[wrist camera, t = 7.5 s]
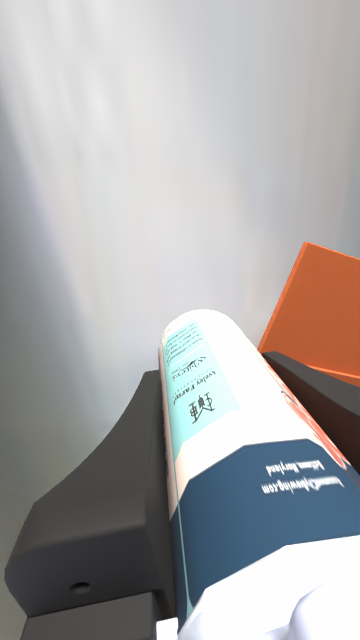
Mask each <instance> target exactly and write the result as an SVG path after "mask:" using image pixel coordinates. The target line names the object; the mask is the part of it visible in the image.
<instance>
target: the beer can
mask: <svg viewBox="0 0 360 640" xmlns="http://www.w3.org/2000/svg"><path fill="white" fill-rule="evenodd" d="M158 357H159V372H160V379H161V389H162V416H163V431H164V446H165V461H166V476H167V491H168V505H169V520H170V535H171V550H172V565H173V580H174V594H175V609H176V617H177V619H178V629H177V637H178V638H179V640H248V639H251V638H253V637H256V636H258V635H261V634H263V633H266V632H268V631H271V630H273V629H276V628H278V627H281V626H283V625H286V624H289V621H290V617H291V613H292V611H293V609H294V607H295V606H296V604H297V602H298V600H299V599H300V598H301V597H303V596H304V595H306V594H307V593H308V592H310V591H311V590H313V589H314V588H315V587H317V586H319V585H322V584H324V583H327V582H330V581H333V580H336V579H338V578H341V577H345V576H349V575H354V574H358V573H360V475H359V474H358V473H357V472H356V471H355V469H354V468H353V467H352V466H351V464H350V463H349V462H348V461H347V460H346V458H345V457H344V456H343V455H342V453H341V452H340V451H339V450H338V449H337V447H336V446H335V445H334V444H333V442H332V441H331V440H330V439H329V438H328V436H327V435H326V434H325V433H324V431H323V430H322V429H321V428H320V427H319V425H318V424H317V423H316V422H315V420H314V419H313V418H312V417H311V416H310V414H309V413H308V412H307V411H306V409H305V408H304V407H303V406H302V405H301V403H300V402H299V401H298V400H297V398H296V397H295V396H294V395H293V394H292V392H291V391H290V390H289V389H288V387H287V386H286V385H285V384H284V383H283V381H282V380H281V379H280V378H279V376H278V375H277V374H276V373H275V372H274V370H273V369H272V368H271V367H270V365H269V364H268V363H267V362H266V361H265V359H264V358H263V357H262V356H261V354H260V353H259V352H258V351H257V350H256V348H255V347H254V346H253V345H252V343H251V342H250V341H249V340H248V339H247V337H246V336H245V335H244V334H243V332H242V331H241V330H240V329H239V328H238V326H237V325H236V324H235V323H234V322H233V321H232V320H231V319H230V318H229V317H227V316H225V315H224V314H222V313H219V312H216V311H212V310H196V311H191V312H188V313H186V314H183V315H181V316H180V317H178V318H177V319H175V320H174V321H173V322H171V323H170V325H169V326H168V327H167V328H166V330H165V331H164V333H163V335H162V337H161V339H160V344H159V348H158Z"/></svg>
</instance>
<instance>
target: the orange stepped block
mask: <svg viewBox="0 0 360 640" xmlns="http://www.w3.org/2000/svg"><path fill="white" fill-rule="evenodd" d="M257 351H258V352H259V353H260V354H261V356H262V353H264V352H271V351H277V352H279V353H281V354H284V355H286V356H288V357H290V358H292V359H294V360H296V361H298V362H300V363H302V364H305V365H307V366H309V367H311V368H313V369H315V370H318V371H320V372H322V373H324V374H327V375H329V376H332V377H334V378H336V379H339V380H341V381H344V382H347V383H349V384H352V385H355V386H358V387H360V259H357V258H354V257H351V256H348V255H345V254H342V253H339V252H336V251H333V250H330V249H327V248H324V247H321V246H318V245H315V244H312V243H309V242H304V244H303V246H302V248H301V251H300V253H299V255H298V258H297V260H296V262H295V264H294V267H293V269H292V271H291V274H290V276H289V278H288V281H287V283H286V285H285V287H284V290H283V292H282V294H281V297H280V299H279V301H278V304H277V306H276V308H275V310H274V313H273V315H272V317H271V320H270V322H269V324H268V327H267V329H266V331H265V333H264V336H263V338H262V340H261V343H260V345H259V347H258V350H257Z"/></svg>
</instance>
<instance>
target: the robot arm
mask: <svg viewBox="0 0 360 640" xmlns="http://www.w3.org/2000/svg"><path fill="white" fill-rule="evenodd" d="M262 357H263V358H264V359H265V361H266V362H267V363H268V364H269V365H270V367H271V368H272V369H273V370H274V372H275V373H276V374H277V375H278V376H279V378H280V379H281V380H282V381H283V383H284V384H285V385H286V386H287V387H288V389H289V390H290V391H291V392H292V394H293V395H294V396H295V397H296V398H297V400H298V401H299V402H300V403H301V405H302V406H303V407H304V408H305V409H306V411H307V412H308V413H309V414H310V416H311V417H312V418H313V419H314V420H315V422H316V423H317V424H318V425H319V427H320V428H321V429H322V430H323V431H324V433H325V434H326V435H327V436H328V438H329V439H330V440H331V441H332V442H333V444H334V445H335V446H336V447H337V449H338V450H339V451H340V452H341V453H342V455H343V456H344V457H345V458H346V460H347V461H348V462H349V463H350V464H351V466H352V467H353V468H354V469H355V471H356V472H357V473H358V474H359V475H360V387H358V386H355V385H352V384H349V383H347V382H344V381H341V380H339V379H336V378H334V377H332V376H329V375H327V374H324V373H322V372H320V371H318V370H315V369H313V368H311V367H309V366H307V365H305V364H302V363H300V362H298V361H296V360H294V359H292V358H290V357H288V356H286V355H284V354H281V353H279V352H277V351H271V352H264V353H262ZM4 580H5V582H6V585H7V587H8V589H9V591H10V593H11V594H12V595H13V597H14V598H15V600H16V601H17V602H18V604H19V605H20V607H21V608H22V609H23V611H24V612H25V614H26V615H27V619H26V622H25V625H24V629H23V632H22V635H21V639H20V640H179V638H178V637H177V629H178V619H177V617H176V609H175V594H174V580H173V565H172V550H171V535H170V520H169V505H168V491H167V476H166V461H165V446H164V431H163V416H162V389H161V379H160V373H159V370H154V371H148V372H145V373H144V374H143V377H142V379H141V382H140V384H139V386H138V388H137V390H136V392H135V394H134V396H133V398H132V399H131V401H130V403H129V405H128V406H127V408H126V409H125V411H124V413H123V414H122V416H121V417H120V419H119V420H118V422H117V423H116V424H115V426H114V427H113V429H112V430H111V431H110V432H109V434H108V435H107V436H106V437H105V439H104V440H103V441H102V442H101V443H100V444H99V445H98V447H97V448H96V449H95V450H94V451H93V452H92V453H91V454H90V455H89V456H88V457H87V458H86V459H85V460H84V461H83V462H82V463H81V464H80V465H79V466H78V467H77V468H76V469H75V470H74V471H73V472H71V473H70V474H69V475H68V476H67V477H66V478H65V479H64V480H62V481H61V482H60V483H59V484H57V485H56V486H55V487H54V488H53V489H51V490H50V491H49V492H48V493H46V494H45V495H44V496H43V497H41V498H40V499H39V500H38V501H36V502H35V503H34V504H33V506H32V509H31V511H30V513H29V514H28V516H27V518H26V520H25V522H24V525H23V527H22V529H21V531H20V534H19V536H18V538H17V541H16V543H15V546H14V548H13V551H12V553H11V556H10V558H9V560H8V563H7V565H6V568H5V574H4ZM248 640H360V573H358V574H354V575H349V576H345V577H341V578H338V579H336V580H333V581H330V582H327V583H324V584H322V585H319V586H317V587H315V588H314V589H313V590H311V591H310V592H308V593H307V594H306V595H304V596H303V597H301V598H300V599H299V600H298V602H297V604H296V606H295V607H294V609H293V611H292V613H291V617H290V621H289V624H286V625H283V626H281V627H278V628H276V629H273V630H271V631H268V632H266V633H263V634H261V635H258V636H256V637H253V638H251V639H248Z"/></svg>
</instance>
